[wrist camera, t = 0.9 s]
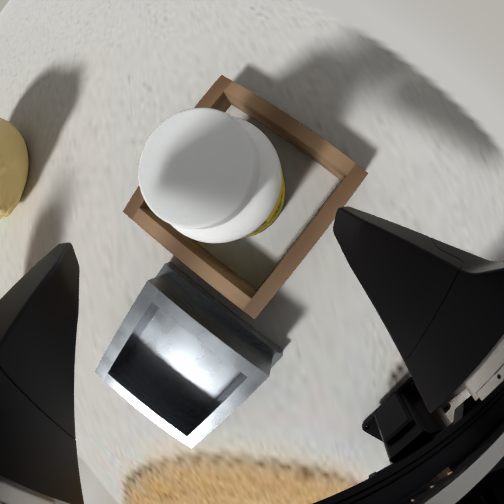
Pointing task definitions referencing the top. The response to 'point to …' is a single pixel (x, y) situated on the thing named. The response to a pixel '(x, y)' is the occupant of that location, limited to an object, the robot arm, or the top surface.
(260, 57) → the top surface
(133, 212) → the walnut collar
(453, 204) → the top surface
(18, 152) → the sculpture
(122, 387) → the dark metal seat block
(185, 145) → the pill bottle
